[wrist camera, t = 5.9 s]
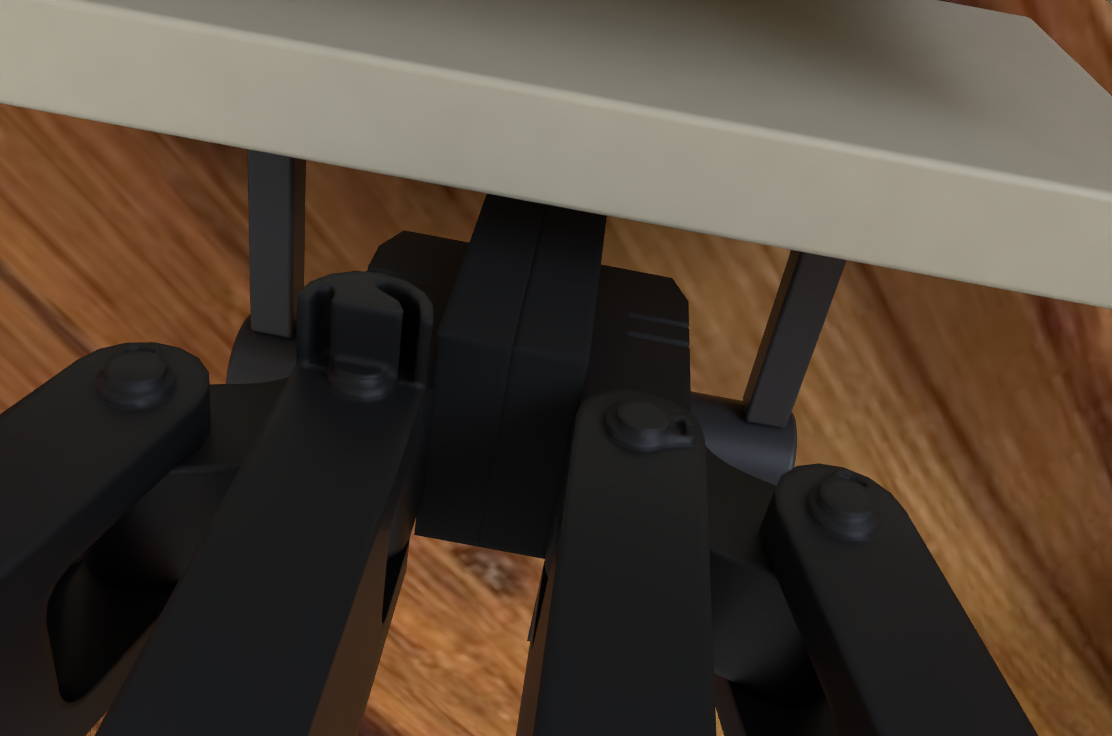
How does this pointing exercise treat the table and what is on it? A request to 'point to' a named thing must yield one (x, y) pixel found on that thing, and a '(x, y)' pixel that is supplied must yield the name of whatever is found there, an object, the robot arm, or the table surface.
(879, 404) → the table surface
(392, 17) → the open pull-out drawer
